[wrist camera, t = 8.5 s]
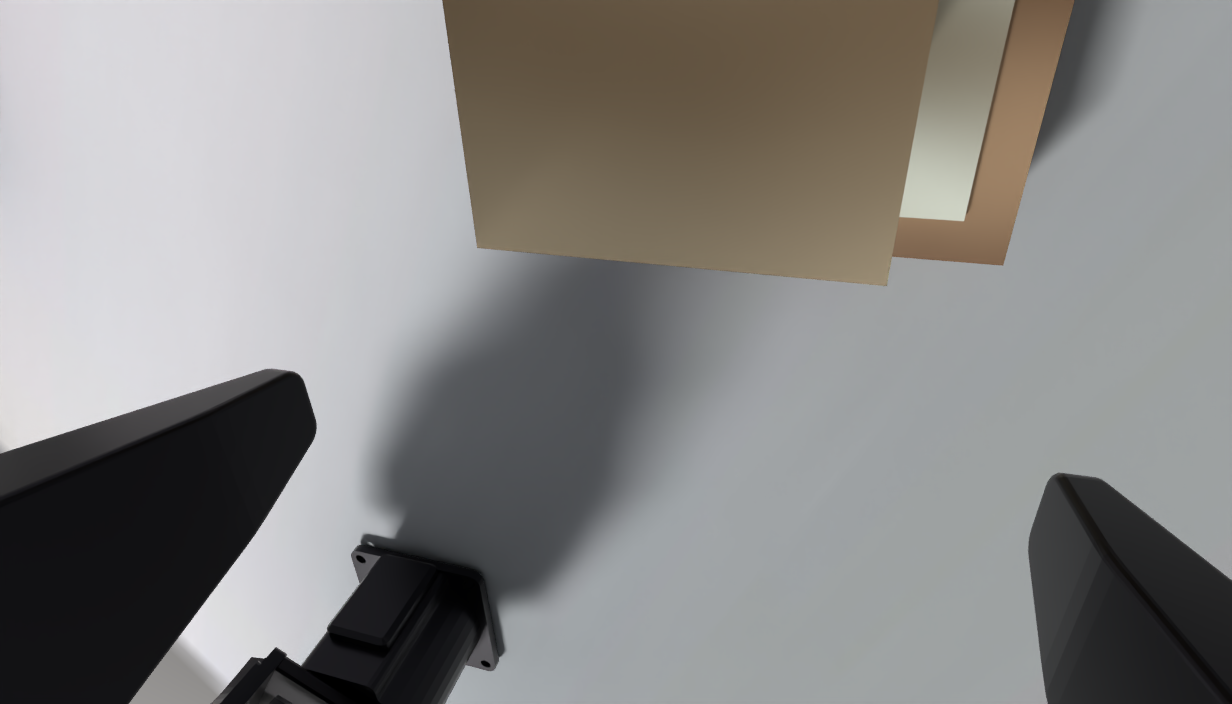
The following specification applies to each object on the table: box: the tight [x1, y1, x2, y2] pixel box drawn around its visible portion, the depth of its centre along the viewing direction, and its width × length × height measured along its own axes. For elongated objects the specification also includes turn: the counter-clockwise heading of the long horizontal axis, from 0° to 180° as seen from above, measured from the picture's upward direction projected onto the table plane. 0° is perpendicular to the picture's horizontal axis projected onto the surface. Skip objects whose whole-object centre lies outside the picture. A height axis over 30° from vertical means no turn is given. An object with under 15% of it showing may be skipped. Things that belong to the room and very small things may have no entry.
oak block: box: [442, 0, 939, 286], centre depth 10 cm, size 5×5×8 cm
